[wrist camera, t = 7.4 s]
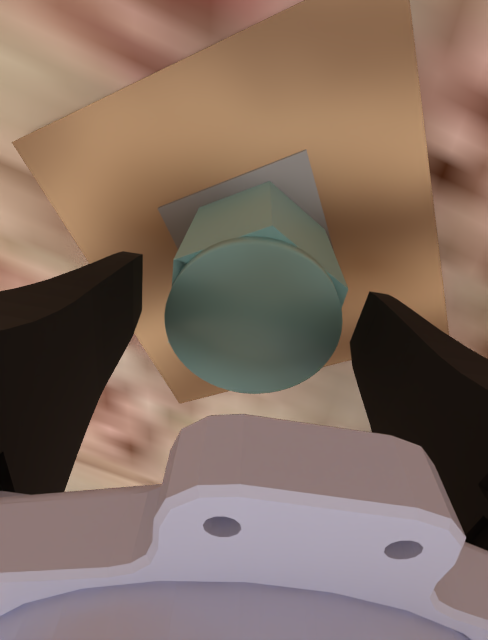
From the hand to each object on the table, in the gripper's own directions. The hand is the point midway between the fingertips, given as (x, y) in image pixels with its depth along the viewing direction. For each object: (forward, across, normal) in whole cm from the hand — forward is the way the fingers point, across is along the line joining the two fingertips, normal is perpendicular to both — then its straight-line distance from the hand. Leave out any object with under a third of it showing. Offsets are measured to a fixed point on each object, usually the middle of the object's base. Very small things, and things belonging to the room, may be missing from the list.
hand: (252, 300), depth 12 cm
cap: (+4, 0, 0) cm, 4 cm away
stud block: (+6, 0, 0) cm, 6 cm away
